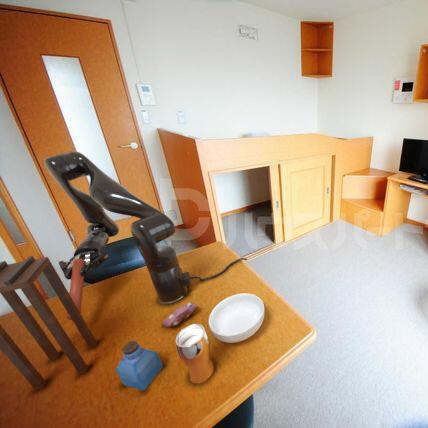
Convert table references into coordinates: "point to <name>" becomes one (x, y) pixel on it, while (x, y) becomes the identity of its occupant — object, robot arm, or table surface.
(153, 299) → the table surface
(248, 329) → the cereal bowl
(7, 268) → the shelf stand
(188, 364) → the silver metal tumbler
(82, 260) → the sausage
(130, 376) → the perfume bottle
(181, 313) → the video game controller
